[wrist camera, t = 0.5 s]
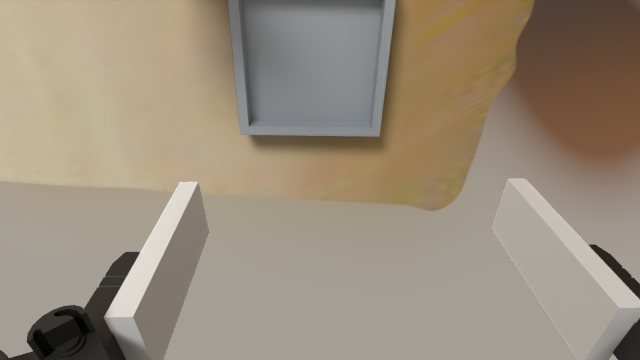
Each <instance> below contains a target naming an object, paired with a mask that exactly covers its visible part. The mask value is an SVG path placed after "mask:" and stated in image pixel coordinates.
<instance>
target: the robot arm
mask: <svg viewBox="0 0 640 360" xmlns="http://www.w3.org/2000/svg"><path fill="white" fill-rule="evenodd" d="M491 229H492V230H493V232H494V234H495V235H496V237H497V238H498V240H499V242H500V243H501V244H502V246H503V248H504V249H505V251H506V252H507V254H508V255H509V257H510V258H511V260H512V261H513V263H514V264H515V266H516V268H517V269H518V270H519V272H520V274H521V275H522V277H523V278H524V280H525V281H526V283H527V284H528V286H529V288H530V289H531V290H532V292H533V294H534V295H535V296H536V298H537V300H538V301H539V303H540V304H541V306H542V307H543V309H544V311H545V312H546V314H547V315H548V317H549V318H550V320H551V321H552V323H553V324H554V326H555V327H556V329H557V331H558V332H559V334H560V335H561V336H562V338H563V340H564V341H565V343H566V344H567V346H568V347H569V349H570V351H571V352H572V354H573V355H574V357H575V358H576V360H609V358H610V357H611V356H612V354H614V355H615V356H616V358H617V359H618V360H640V284H639V283H638V282H637V281H636V280H635V279H634V278H632V277H631V275H630V274H629V273H628V272H627V271H626V270H625V269H624V268H622V266H621V265H620V264H619V263H618V262H617V261H616V260H615V259H614V257H612V256H611V254H609V253H607V252H606V251H604V250H603V249H601V248H600V247H598V246H597V245H588V244H587V243H586V242H585V241H584V240H583V239H582V238H581V237H580V236H579V235H578V234H577V233H576V232H575V231H574V230H573V229H572V228H571V226H570V225H569V224H568V223H567V222H566V221H565V220H564V219H563V218H562V217H561V216H560V215H559V214H558V213H557V212H556V211H555V210H554V208H553V207H552V206H551V205H550V204H549V203H548V202H547V201H546V200H545V199H544V198H543V197H542V196H541V195H540V194H539V193H538V192H537V190H536V189H535V188H534V187H533V186H532V185H531V184H530V183H529V182H528V181H527V180H526V179H525V178H517V179H516V178H512V179H510V178H508V179H507V181H506V184H505V187H504V191H503V193H502V196H501V200H500V202H499V205H498V208H497V211H496V214H495V217H494V221H493V223H492V227H491ZM208 233H209V229H208V226H207V220H206V215H205V210H204V206H203V201H202V196H201V192H200V187H199V182H180V183H179V185H178V186H177V188H176V190H175V192H174V194H173V196H172V197H171V199H170V201H169V202H168V204H167V206H166V208H165V210H164V211H163V213H162V215H161V217H160V219H159V220H158V222H157V224H156V226H155V227H154V229H153V231H152V233H151V235H150V236H149V238H148V240H147V241H146V243H145V245H144V247H143V249H142V250H141V252H125V253H124V254H123V255H122V256H121V257H120V258H119V259H117V260H116V261H115V262H114V263H113V264H112V265H111V267H110V269H109V270H108V272H107V273H106V275H105V278H103V280H102V281H101V283H100V285H99V288H97V289H96V291H95V292H94V294H93V296H92V297H91V299H90V300H89V302H88V304H87V305H86V307H85V308H84V309H83V308H82V307H79V306H75V305H70V306H63V307H60V308H57V309H54V310H52V311H50V312H49V313H47V314H45V315H44V316H42V317H41V318H40V319H39V320H38V321H37V322H36V323H35V324H34V325H33V326H32V328H31V330H30V331H29V333H28V336H27V343H28V344H29V346H30V347H31V348H32V350H33V352H30V353H26V354H23V355H19V356H15V357H12V358H8V356H7V355H6V354H5V353H4V352H2V351H1V350H0V360H163V359H164V356H165V353H166V350H167V348H168V345H169V342H170V339H171V337H172V334H173V331H174V328H175V325H176V322H177V320H178V317H179V314H180V312H181V309H182V306H183V303H184V300H185V298H186V295H187V292H188V289H189V286H190V284H191V281H192V278H193V275H194V273H195V270H196V267H197V264H198V261H199V259H200V256H201V253H202V250H203V248H204V245H205V242H206V239H207V236H208Z"/></svg>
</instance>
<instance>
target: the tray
mask: <svg viewBox="0 0 640 360" xmlns="http://www.w3.org/2000/svg"><path fill="white" fill-rule="evenodd" d="M395 4H396V0H228V9H229V20H230V30H231V41H232V51H233V62H234V72H235V83H236V93H237V104H238V114H239V125H240V135H302V136H378V137H379V136H380V128H381V120H382V112H383V103H384V95H385V87H386V78H387V70H388V62H389V53H390V45H391V37H392V29H393V20H394V12H395Z"/></svg>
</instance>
